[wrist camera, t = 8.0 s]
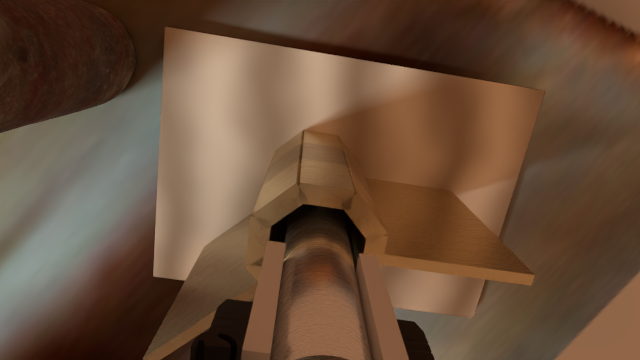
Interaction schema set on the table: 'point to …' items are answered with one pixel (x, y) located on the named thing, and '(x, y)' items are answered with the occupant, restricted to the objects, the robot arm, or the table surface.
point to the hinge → (362, 226)
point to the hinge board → (332, 118)
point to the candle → (59, 59)
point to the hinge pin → (318, 291)
